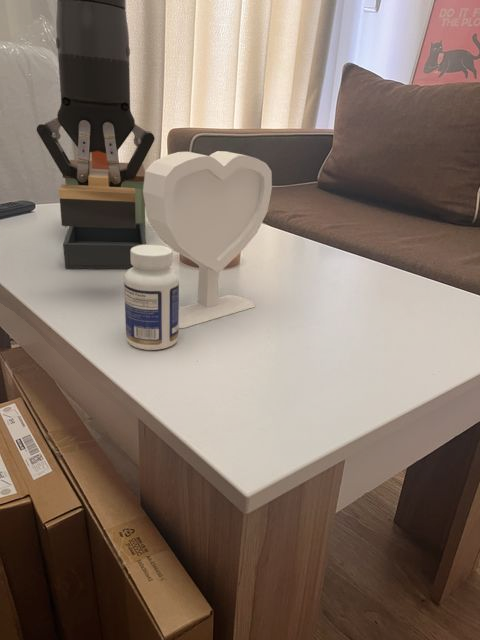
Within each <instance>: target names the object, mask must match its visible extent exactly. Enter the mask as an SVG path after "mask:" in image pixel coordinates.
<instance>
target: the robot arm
mask: <svg viewBox="0 0 480 640" xmlns="http://www.w3.org/2000/svg"><path fill="white" fill-rule="evenodd" d="M55 19H56V20H55V27H56V29H55V30H56V38H55V46H56V49H57V59H58V74H59V88H60V91H59V92H60V107H59V109H58V111H57V114H56V115H57V116H56V118H53V119H51V120H48V121H47V122H41V123H40V124H38V125H37V127H36V133H37V134H38V136H39V137H40V139H41V141H42V143H43V145H44V146H45V148H46V149H47V151H48V153H49V155H50V156H51V158H52V160H53V161H54V163H55V165H56V166H57V168H58V170H59V171H60V173H61V174H62V176H63V175H64V176H70V177H72V178H74V179H76V180H77V182H78V185H83V186H89V184H88V176H89V163H90V161H91V152H95V151H100V152H103V153H106V154H107V161H108V167H109V174H110V182H109V187H121V184H122V182H124V181H126V180H129V179H134V178H135V176H136V175H137V173H138V171H139V169H140V167H141V165H142V164H143V163H144V161H145V159H146V157H147V155H148V153H149V152H150V150H151V148H152V146H153V144H154V142H155V139H156V138H155V135H154V134H153V132H152V131H151V130H146V129H145V128H143V127H141V126H139V125H138V124H137V123H136V121H135V118H134V115H133V114H132V111H131V82H130V80H131V79H130V78H131V75H130V74H131V73H130V71H131V69H130V55H131V49H130V33H129V32H130V31H129V25H128V18H127V0H57V1H56V17H55ZM61 127H62V128H63V130H64V131H65V133H66V134H67V135H68V137H69V138H70V139H71V141H72V142H73V143H74V145H75V146H76V147H77V160H78V167H77V166H75V165H72V164H71V162H70V159H69V157H68V156H67V153H66V152H65V150H64V148H63V147H62V145H61V143H60V142H59V140H60V139H61V137H62V133H61V131H60V130H61ZM131 133H133V144H134V145H135V146H136V148H135V149H134V152H133V154H132V156H131V157H130V159H129V161H128V162H127V163H128V165H127V167H126V168H124V169H120V168H119V162H120V160H119V150H120V148H121V147H122V146H123V145H124V143H125V142H126V140H127V138H128V137H129V136H130V135H131ZM117 150H118V152H117Z"/></svg>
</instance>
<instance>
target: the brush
mask: <svg viewBox="0 0 480 640" xmlns="http://www.w3.org/2000/svg"><path fill="white" fill-rule="evenodd" d="M109 182H110V179H109V170H104V169H91V170H90V173H89V176H88V184H89V186H83V185H66V184H64V183H63V184H61V185H60V186H59V189H58V193H59V194H58V195H59V196H58V197H59V208H60V209H59V210H60V220H61V222H60V223H61V227H69V226H77V227H107V228H136V213H135V189H134V188H122V187H109Z"/></svg>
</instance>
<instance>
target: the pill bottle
mask: <svg viewBox="0 0 480 640" xmlns="http://www.w3.org/2000/svg"><path fill="white" fill-rule="evenodd" d="M130 252H131V264H132V265H133V267H132V268H130V269H127V270H126V272H125V274H124V275H123V293H124V317H125V319H124V320H125V335H126V337H125V338H126V341H127V343H128V344H130V345H131V346H132V347H134V348H137V349H139V350H145V351H146V350H147V351H156V350H157V351H159V350H162V349H163V350H164V349H167V348H170V347H172V346H174V345H175V344H176V343H177V342H178V340H179V333H180V331H179V329H180V328H179V308H180V277H179V274H178V273H177V271H176V270H175V269H173V268H171V266H172V265H173V249H172V248H170V247H169V246H165V245H161V244H147V245H139V246H135V247H133V248H131V250H130Z"/></svg>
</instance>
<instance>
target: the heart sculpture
mask: <svg viewBox="0 0 480 640" xmlns="http://www.w3.org/2000/svg"><path fill="white" fill-rule="evenodd" d="M272 172H273V171H272V170H271V168H270V167H269V165H268V164H267V163H266V162H265V161H263V160H261V159H259V158H257V157H253V156H250V155H246V154H240V153H235V152H231V151H226V150H225V151H222V150H221V151H220V150H217V151H215V152H213V153H211V154H210V155H206V154H202V153H196V152H193V151H177V152H174V153H170V154H166V155H164V156H162V157H160V158H158V159H156V160H153V162H152V163H151V164H150V165H149V166H148V167H147V168H146V169H145V178H144V186H143V195H144V202H145V216H146V218H147V220H148V221H149V223H150V225H151V226H152V229H153V230H154V232H155V234H156V235H157V237H158V239H159V240H161V242H163V243H164V244H165V245H167V247H168V248H170V249H171V250H172V251H174V252H176V253H177V254H179V255H181V256H183V257H184V258H187V260H190V261H192V262H193V263H195V264H196V265H198V282H197V283H198V284H197V285H198V286H197V287H198V288H197V302H196V303H192V304H188V305H184V306H179V329H185V328H188V327H192V326H195V325H198V324H201V323H205V322H209V321H212V320H215V319H219V318H222V317H226V316H229V315H232V314H236V313H239V312H243V311H245V310H249V309H252V308H256V305H255V304H254V303H253V302H252V301H251V300H250V299H248V298H245V297H243V296H237V295H232V294H226V295H223V296H219V279H220V274H221V272H223V271H224V269H225V268H226V267H227V266H228V265H229V264H230V263H231V262H232V261H233V260H234V259H235V258H236V257H237V256H239V254H241V253H242V251H244V250H245V248H247V246H248V244H250V242H251V241H252V240H253V238H254V237H255V236H256V235H257V233H258V232H259V230H260V228H261V225H262V223H263V222H264V220H265V218H266V215H267V213H268V212H269V205H270V202H271V201H270V200H271V196H272V191H273V182H272V181H273V178H272V177H273V176H272V174H273V173H272Z"/></svg>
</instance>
